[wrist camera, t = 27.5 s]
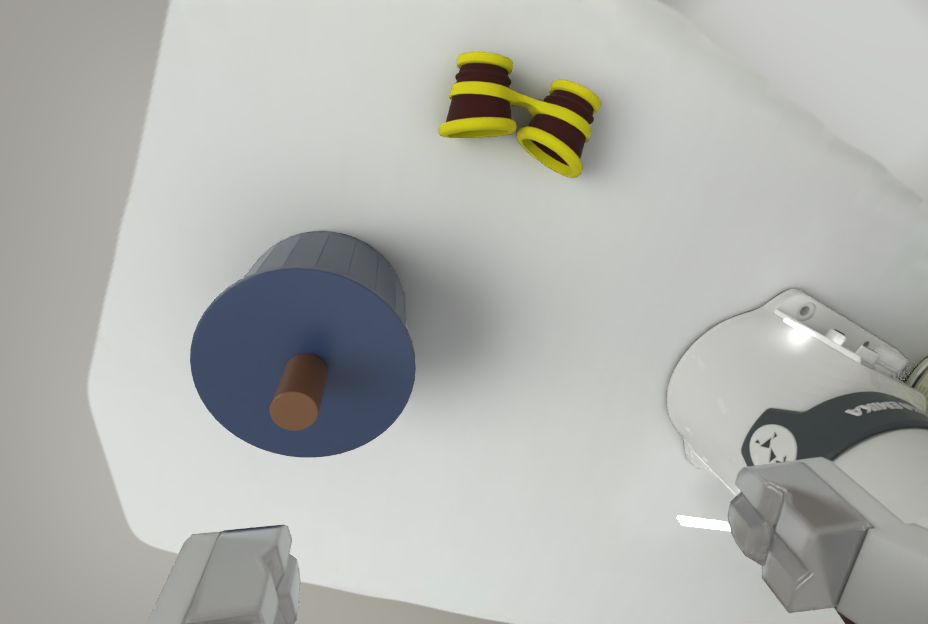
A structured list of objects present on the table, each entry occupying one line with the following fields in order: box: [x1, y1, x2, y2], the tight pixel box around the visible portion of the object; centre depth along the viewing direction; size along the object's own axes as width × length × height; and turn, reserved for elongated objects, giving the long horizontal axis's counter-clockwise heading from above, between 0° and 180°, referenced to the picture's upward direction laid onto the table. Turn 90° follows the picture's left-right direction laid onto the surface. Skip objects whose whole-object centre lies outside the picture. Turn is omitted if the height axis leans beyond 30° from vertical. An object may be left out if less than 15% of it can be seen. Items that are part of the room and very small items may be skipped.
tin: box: [244, 231, 406, 326], centre depth 34 cm, size 12×12×9 cm
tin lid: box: [190, 265, 416, 457], centre depth 28 cm, size 13×13×5 cm
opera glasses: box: [438, 52, 601, 178], centre depth 32 cm, size 10×5×5 cm, turn 72°
